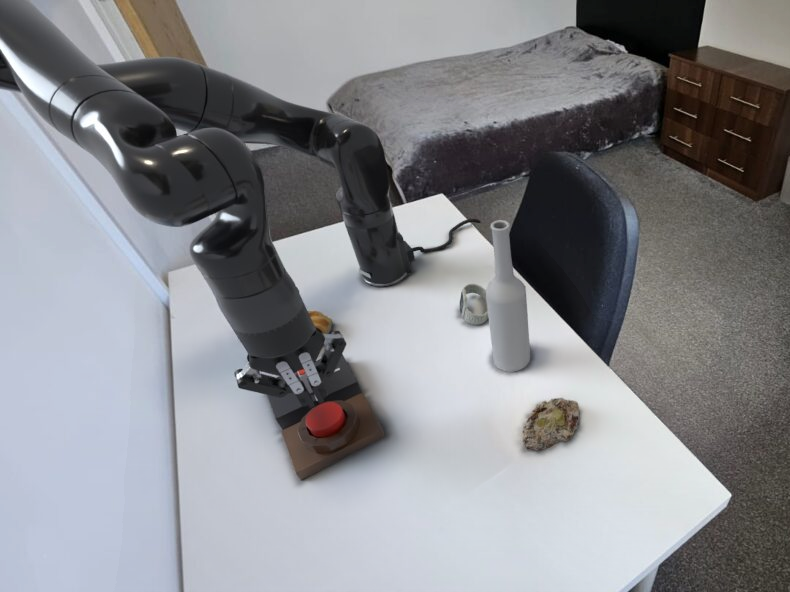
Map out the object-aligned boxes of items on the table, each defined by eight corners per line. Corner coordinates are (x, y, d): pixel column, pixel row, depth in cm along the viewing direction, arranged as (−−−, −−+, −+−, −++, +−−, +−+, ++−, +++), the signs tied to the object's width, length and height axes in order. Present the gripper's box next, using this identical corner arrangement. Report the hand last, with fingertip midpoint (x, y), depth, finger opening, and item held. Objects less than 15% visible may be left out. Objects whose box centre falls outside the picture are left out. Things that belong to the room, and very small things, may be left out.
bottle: (518, 339, 88) (509, 208, 70) (537, 361, 84) (531, 228, 66) (487, 354, 85) (468, 220, 67) (504, 377, 81) (489, 242, 63)
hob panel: (345, 360, 83) (339, 348, 81) (362, 394, 78) (357, 382, 75) (269, 393, 77) (261, 380, 75) (283, 432, 72) (275, 419, 70)
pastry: (321, 358, 83) (314, 343, 81) (280, 361, 82) (272, 346, 80) (335, 322, 90) (329, 307, 88) (298, 324, 89) (291, 309, 87)
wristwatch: (458, 298, 97) (455, 279, 93) (489, 294, 98) (487, 275, 95) (462, 328, 90) (459, 309, 87) (495, 323, 92) (493, 304, 88)
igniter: (365, 399, 77) (359, 384, 74) (385, 436, 72) (378, 420, 69) (285, 438, 71) (275, 423, 68) (300, 480, 66) (290, 465, 63)
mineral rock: (552, 382, 78) (587, 401, 73) (558, 401, 80) (592, 420, 75) (503, 424, 72) (538, 447, 67) (511, 443, 74) (545, 467, 69)
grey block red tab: (300, 374, 76) (290, 355, 73) (311, 370, 77) (301, 351, 74) (308, 394, 73) (298, 376, 71) (319, 389, 74) (310, 371, 71)
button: (340, 404, 72) (336, 396, 70) (350, 426, 69) (346, 418, 68) (306, 420, 69) (301, 412, 68) (315, 443, 66) (311, 435, 65)
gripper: (201, 353, 49) (268, 445, 60) (336, 303, 55) (373, 395, 67) (192, 314, 53) (256, 407, 64) (317, 272, 60) (356, 363, 71)
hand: (316, 400), depth 65 cm, fingers closed
